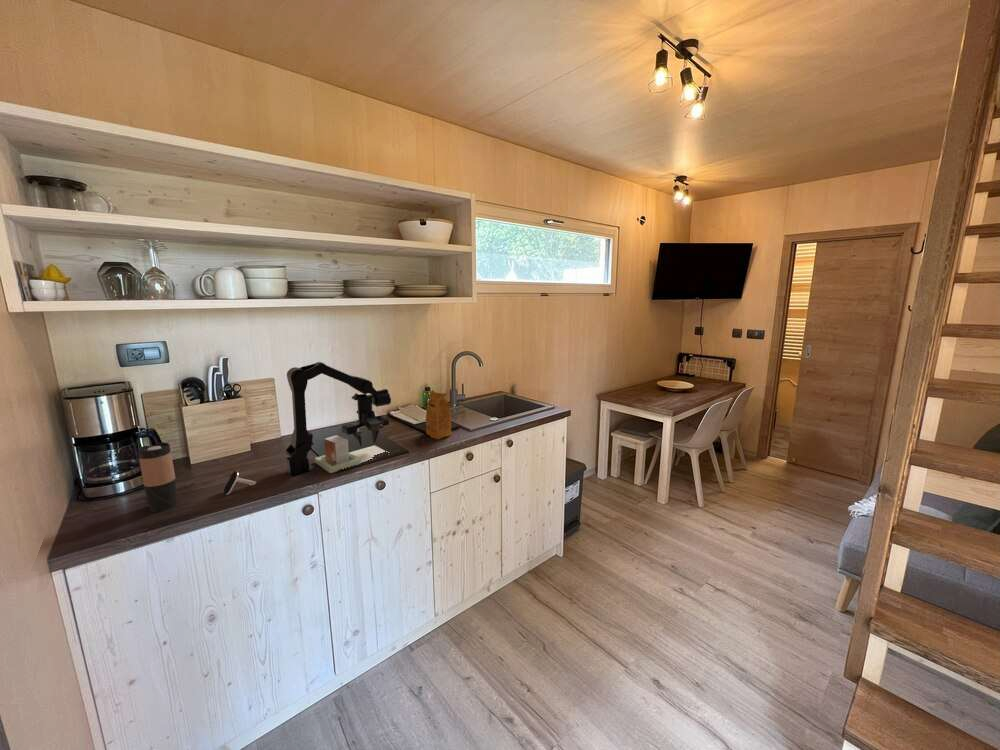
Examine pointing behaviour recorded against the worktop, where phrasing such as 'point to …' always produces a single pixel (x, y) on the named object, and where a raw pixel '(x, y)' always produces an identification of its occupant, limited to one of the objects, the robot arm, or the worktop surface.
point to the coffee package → (438, 416)
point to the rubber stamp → (233, 480)
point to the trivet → (367, 453)
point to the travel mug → (158, 476)
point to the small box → (336, 450)
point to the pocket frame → (322, 462)
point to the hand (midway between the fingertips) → (367, 444)
